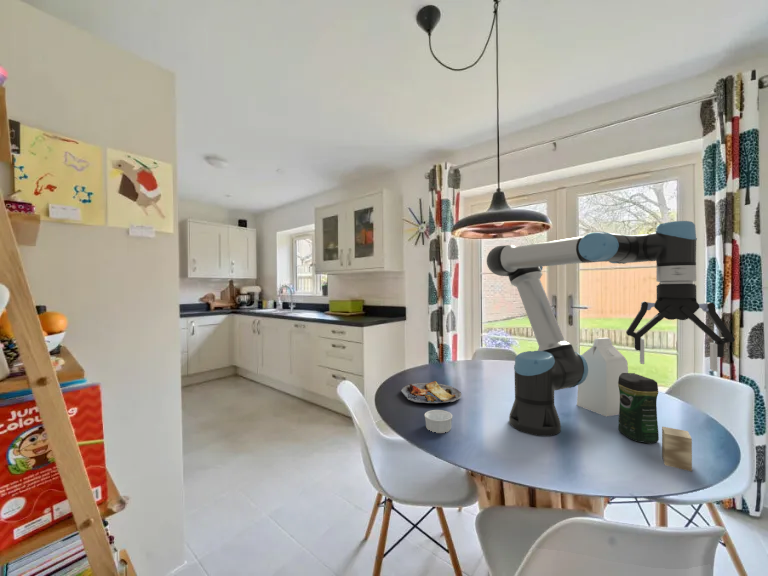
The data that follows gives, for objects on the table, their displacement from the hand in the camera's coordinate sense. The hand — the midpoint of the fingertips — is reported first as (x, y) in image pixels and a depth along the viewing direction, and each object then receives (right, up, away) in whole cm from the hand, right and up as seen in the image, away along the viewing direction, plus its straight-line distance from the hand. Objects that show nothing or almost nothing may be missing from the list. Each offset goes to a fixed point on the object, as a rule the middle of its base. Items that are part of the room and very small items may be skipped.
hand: (676, 366), depth 82 cm
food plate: (-55, -25, +52) cm, 80 cm away
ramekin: (-57, -25, +22) cm, 66 cm away
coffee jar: (+2, -25, +15) cm, 29 cm away
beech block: (0, -25, 0) cm, 25 cm away
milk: (+6, -25, +37) cm, 45 cm away
